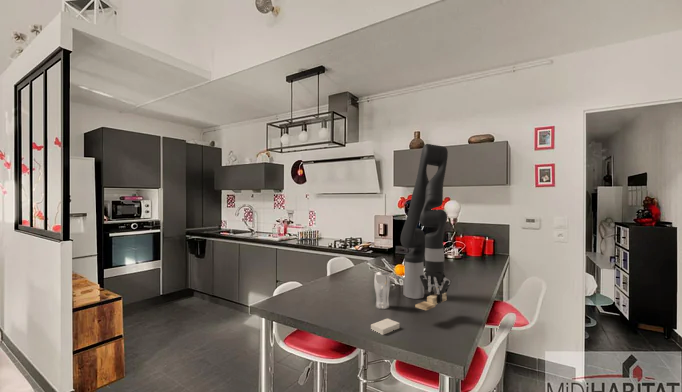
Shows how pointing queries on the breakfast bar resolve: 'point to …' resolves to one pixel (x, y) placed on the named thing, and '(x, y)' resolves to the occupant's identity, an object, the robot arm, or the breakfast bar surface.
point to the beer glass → (382, 289)
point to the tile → (385, 326)
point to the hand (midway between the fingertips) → (435, 302)
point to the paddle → (430, 302)
